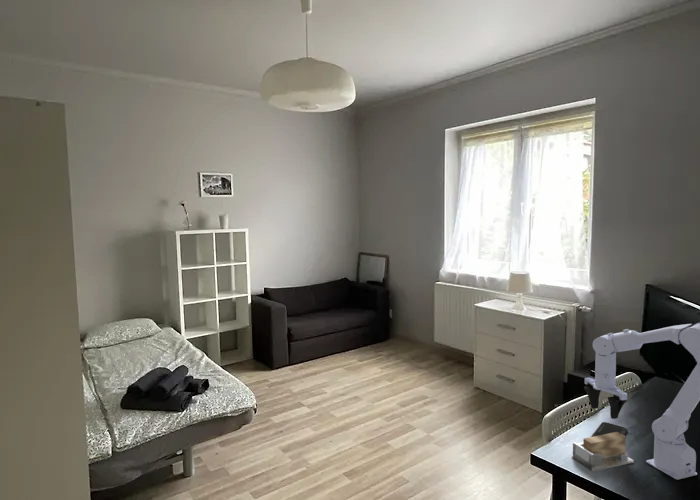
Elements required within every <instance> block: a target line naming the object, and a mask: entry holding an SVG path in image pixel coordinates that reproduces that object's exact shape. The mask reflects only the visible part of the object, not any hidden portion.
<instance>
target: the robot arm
mask: <svg viewBox="0 0 700 500" xmlns="http://www.w3.org/2000/svg"><path fill="white" fill-rule="evenodd" d="M665 341H671V342H673V343H674V344H676V345H680V344H681V345H682V346H683V347H684V348H685V350H687V351H688V352H689V353H690V354H691V356H693V358H694V360H695V362H696V365H695V367H694V368H693V369H692V371H691V373H690V374H689V376H688V377H687V379H686V381H685V382H684V384H683V385H682V387H681V388H680V390H679V392H678V393H677V395H676V396H675V398H674V399H673V401H672V402H671V404H670V406H669V407H668V408H667V409H666V410H665V411H664V413H663V414H662V415H661V417H659V418H657V419H655V420H653V422H652V424H651V431H652V433H653V434H654V436H653V437H654V440H653V441H654V442H653V458H651V459H647V460H646V461H645V462H646V463H647V464H648V465H651V466H652V467H653V468H655V469H657V470H659V471H660V472H663V473H664V474H666V475H668V476H670V477H671V478H673V479H675V480H681V479H686V478H689V477H693V476H697V475H698V472H696V471H697V470H696V467H697V465H696V464H697V453H696V450H695V449H694V448H693V447H691V446H690V445H689V444H688V443H687V442H686V437H685V435H684V433H685V432H686V431H687V430H689V429H688V428H689V420H690V418H691V417H692V416H691V414H692V413H693V411H694V410H695V408H696V407H697V405H698V404H699V402H700V322H697V323H695V324H693V323H686V324H679V325H678V324H676V325H671V326H666V327H662V328H658V329H653V330H648V331H644V332H638V331H637V330H633V329H632V330H631V329H629V328H626V329H623V330H622V331H621V332H616V333H613V332H609V333H607V334H604V335H601V336H598V337H596V338H595V339H594V340H593V341H592V349H593V350H594V352H595V362H594V363H595V366H594V367H595V368H594V375H595V376H594V378H592V377H584V384H585V385H586V386H585V385H584V387H583V390H584V391H585V394H587V397H588V400H589V403H590V404H589V405H590V407H591V409H592V410H594V409H599V405H600V404H599V403H600V402H599V401H600V394H601V391H602V392H604V393H607V394H609V395H612V396H607V400H608V403H609V411H610V414H609V416H610V419H612V420H616V419H618V418H619V414H620V412H621V410H622V408H623V406H624V404H626V403H627V401H628V393H626V392H625V391H623V390H621V389H620V387H617V385H616V378H617V377H616V372H617V353H622V352H626V351H627V352H628V351H632V350H633V351H634V350H640V349H641V348H642V346H643V345H644V344H649V343H659V342H665Z"/></svg>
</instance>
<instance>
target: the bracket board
mask: <svg viewBox="0 0 700 500" xmlns="http://www.w3.org/2000/svg"><path fill="white" fill-rule="evenodd" d="M571 458H572V459H573V460H574V461H576V462H577V463H579V464H581V465H582V467H585V468H586V469H588V470H589V471H591V472H592V473H594V472H599V471H603V470H606V469H607V470H608V469H611V468H616V467H621V466H624V465H629V464H633V463H634V459H632V458H631V457H629V454H628V453H627V452H626V451H625V452H624V453H620V454H615V455H610V456H606V457H603V454H602V453H601V452H598V453H592V452H590V451H589V450H587V449H585V448H584V447H583V442H576V441H573V442H572V454H571Z"/></svg>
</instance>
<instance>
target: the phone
mask: <svg viewBox="0 0 700 500" xmlns="http://www.w3.org/2000/svg"><path fill="white" fill-rule="evenodd" d="M614 432H619V433H620V434H622V435H624V436H626V435H627V433H628V428H627V427H625V426H620V425H618V424H614V423H609V422H607V421H602V422H601V423H600V424H599V425H598V427H597V428H596V430H595V431H594V432H593V433H592V435H591V437H594V436H599V435H604V434H609V433H614Z"/></svg>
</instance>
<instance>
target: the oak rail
mask: <svg viewBox="0 0 700 500" xmlns="http://www.w3.org/2000/svg"><path fill="white" fill-rule="evenodd" d="M582 441H583V447H584V448H585V449H587V450H589V451H590V452H592V453H598V452H601V453H602V454H603V457H606V456H610V455H615V454H620V453H624V452H625V453H626V447H627V446H626V442H627V437H626V435H625V436H624V435H622V434H620V433H619V432H614V433H609V434H604V435H599V436H594V437H590V436H589V437H585V438H583V440H582Z"/></svg>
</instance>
